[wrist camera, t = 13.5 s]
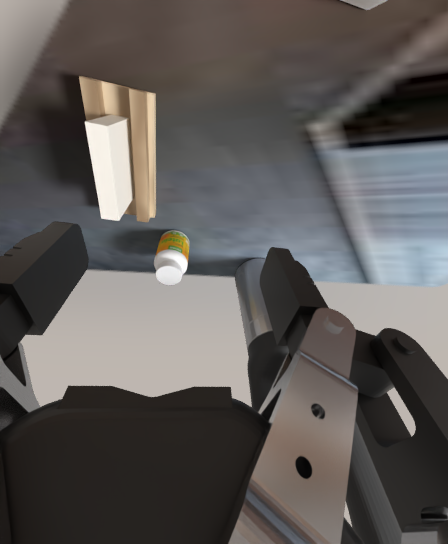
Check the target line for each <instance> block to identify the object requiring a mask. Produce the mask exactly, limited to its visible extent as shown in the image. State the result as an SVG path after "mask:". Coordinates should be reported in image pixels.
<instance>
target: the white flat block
mask: <svg viewBox="0 0 448 544" xmlns="http://www.w3.org/2000/svg"><path fill="white" fill-rule="evenodd" d="M85 127H86V132H87V138H88V144H89V150H90V155H91V161H92V167H93V172H94V178H95V184H96V190H97V195H98V201H99V207H100V213H101V218H102V219H109V220H116V221H119V220H120V218H121V217H122V215H123V214H124V212H125V211H126V209H127V207H128V206H129V204H130V203H131V201H132V200H133V198H134V185H133V170H132V155H131V140H130V126H129V118H126V117H121V116H116V115H108V116H104V117H100V118H96V119H93V120H89V121H85Z"/></svg>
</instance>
